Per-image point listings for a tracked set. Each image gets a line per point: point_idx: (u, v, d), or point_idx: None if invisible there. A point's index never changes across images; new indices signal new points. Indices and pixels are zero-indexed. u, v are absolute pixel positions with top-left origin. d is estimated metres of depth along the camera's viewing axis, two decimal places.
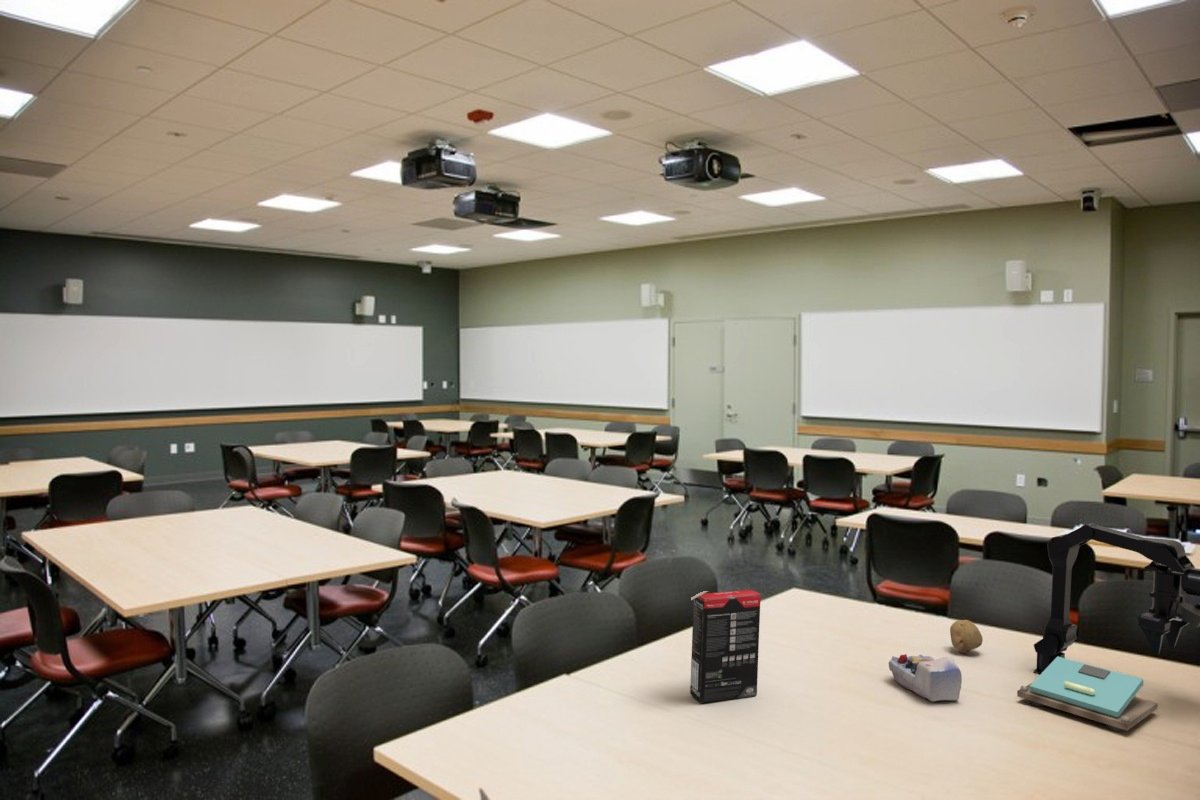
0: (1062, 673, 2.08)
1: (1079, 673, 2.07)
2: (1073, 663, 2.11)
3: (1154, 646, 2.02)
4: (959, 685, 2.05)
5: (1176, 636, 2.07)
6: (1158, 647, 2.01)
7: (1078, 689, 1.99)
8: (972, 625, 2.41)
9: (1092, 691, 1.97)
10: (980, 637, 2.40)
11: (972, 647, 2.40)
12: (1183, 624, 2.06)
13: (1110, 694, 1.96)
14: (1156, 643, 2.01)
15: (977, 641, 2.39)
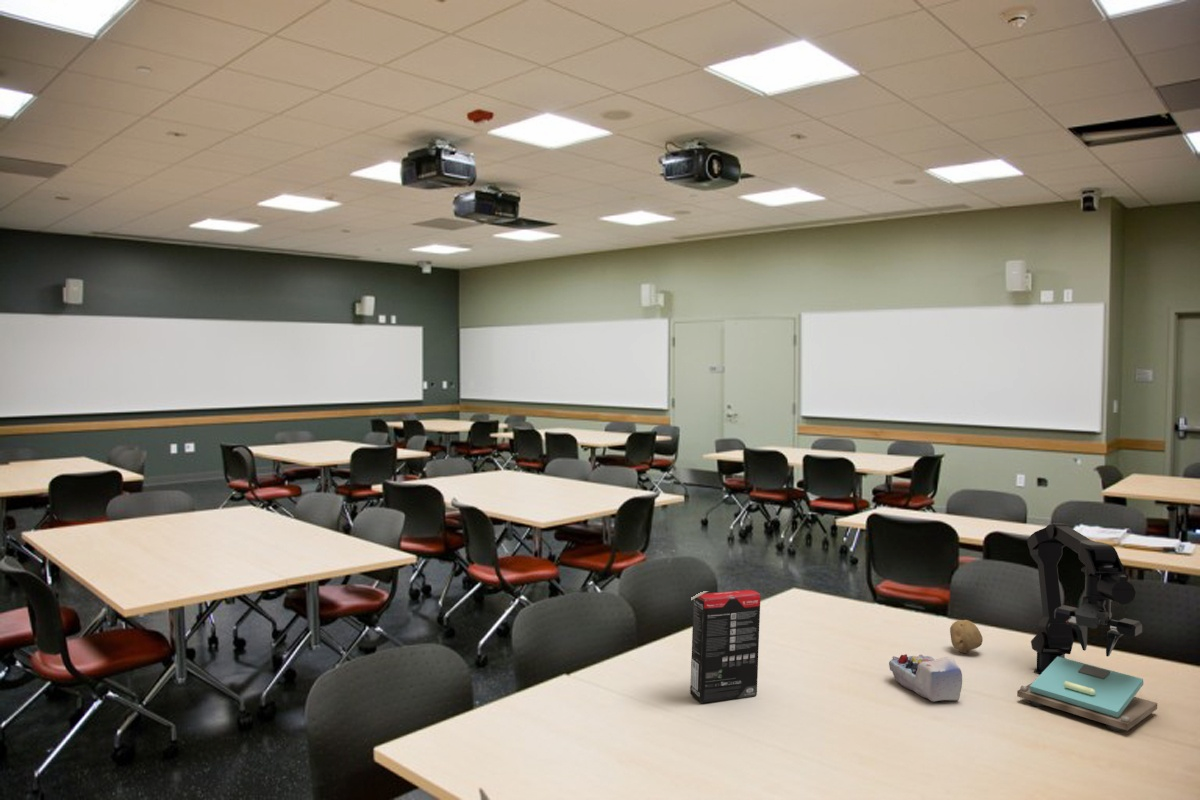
0: (1062, 673, 2.08)
1: (1079, 673, 2.07)
2: (1073, 663, 2.11)
3: None
4: (960, 685, 2.05)
5: (1107, 645, 2.03)
6: None
7: (1078, 689, 1.99)
8: (972, 625, 2.41)
9: (1092, 691, 1.97)
10: (980, 637, 2.40)
11: (972, 647, 2.40)
12: None
13: (1110, 694, 1.96)
14: None
15: (977, 641, 2.39)
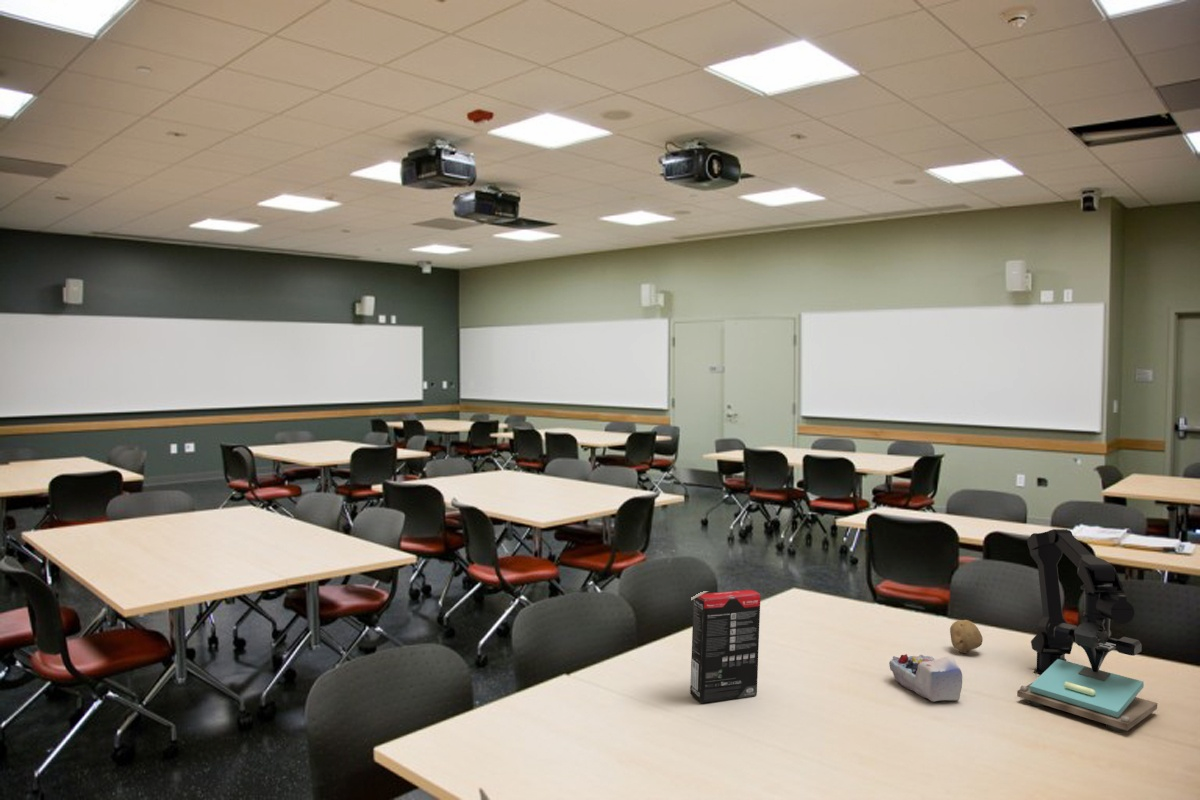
0: (1062, 674, 2.08)
1: (1079, 675, 2.07)
2: (1073, 665, 2.11)
3: None
4: (960, 685, 2.05)
5: (1095, 661, 2.06)
6: None
7: (1078, 689, 1.99)
8: (972, 625, 2.41)
9: (1092, 691, 1.97)
10: (980, 637, 2.40)
11: (972, 647, 2.40)
12: None
13: (1110, 695, 1.96)
14: None
15: (977, 641, 2.39)
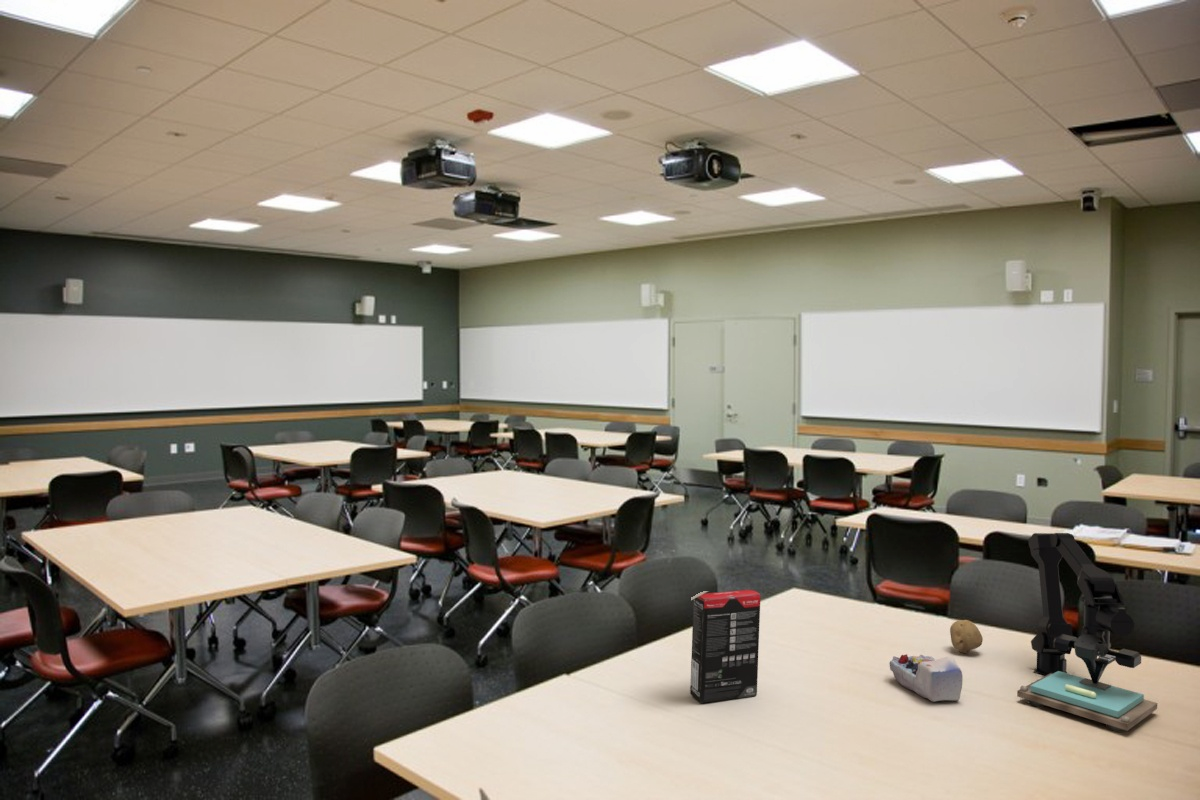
0: (1063, 681, 2.08)
1: (1080, 683, 2.07)
2: (1074, 677, 2.12)
3: None
4: (960, 685, 2.05)
5: (1095, 672, 2.06)
6: None
7: (1079, 691, 1.99)
8: (972, 625, 2.41)
9: (1093, 693, 1.97)
10: (980, 637, 2.40)
11: (972, 647, 2.40)
12: None
13: (1111, 700, 1.97)
14: None
15: (977, 641, 2.39)
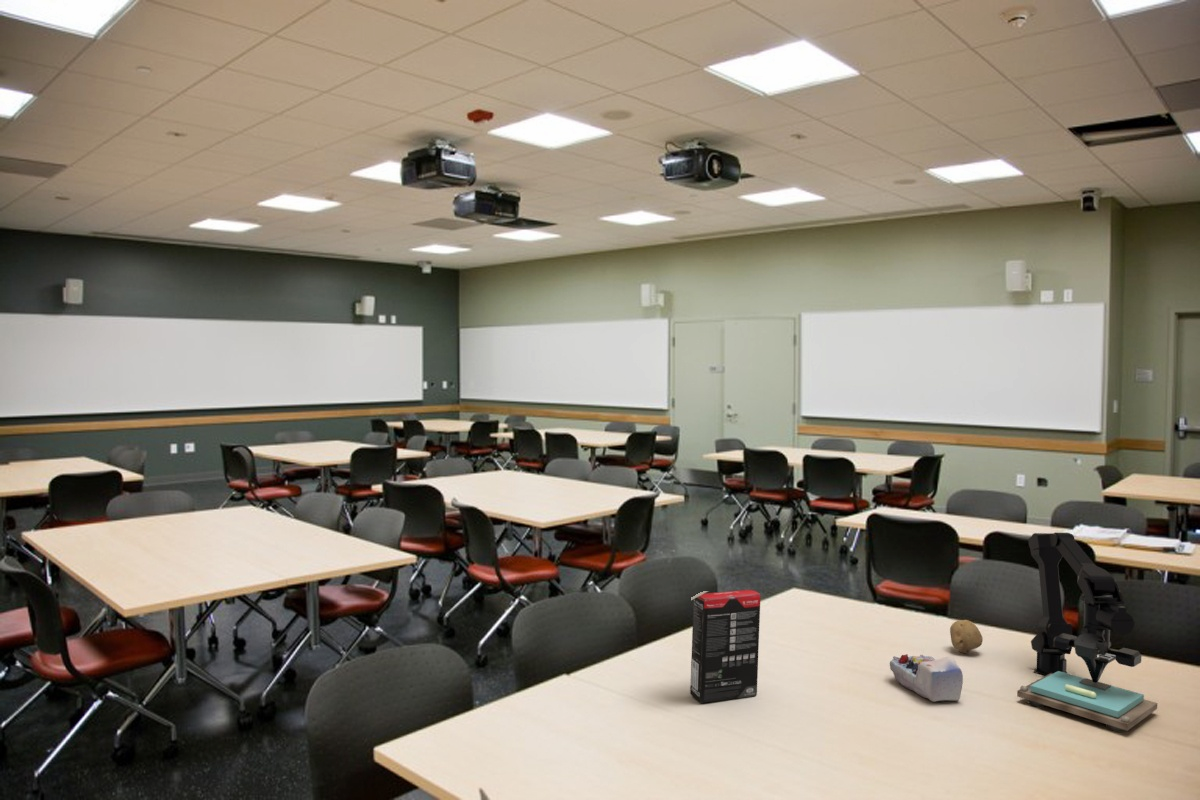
0: (1063, 681, 2.08)
1: (1080, 683, 2.07)
2: (1074, 677, 2.12)
3: None
4: (960, 685, 2.05)
5: (1095, 671, 2.06)
6: None
7: (1079, 691, 1.99)
8: (972, 625, 2.41)
9: (1093, 693, 1.97)
10: (980, 637, 2.40)
11: (972, 647, 2.40)
12: None
13: (1111, 700, 1.97)
14: None
15: (977, 641, 2.39)
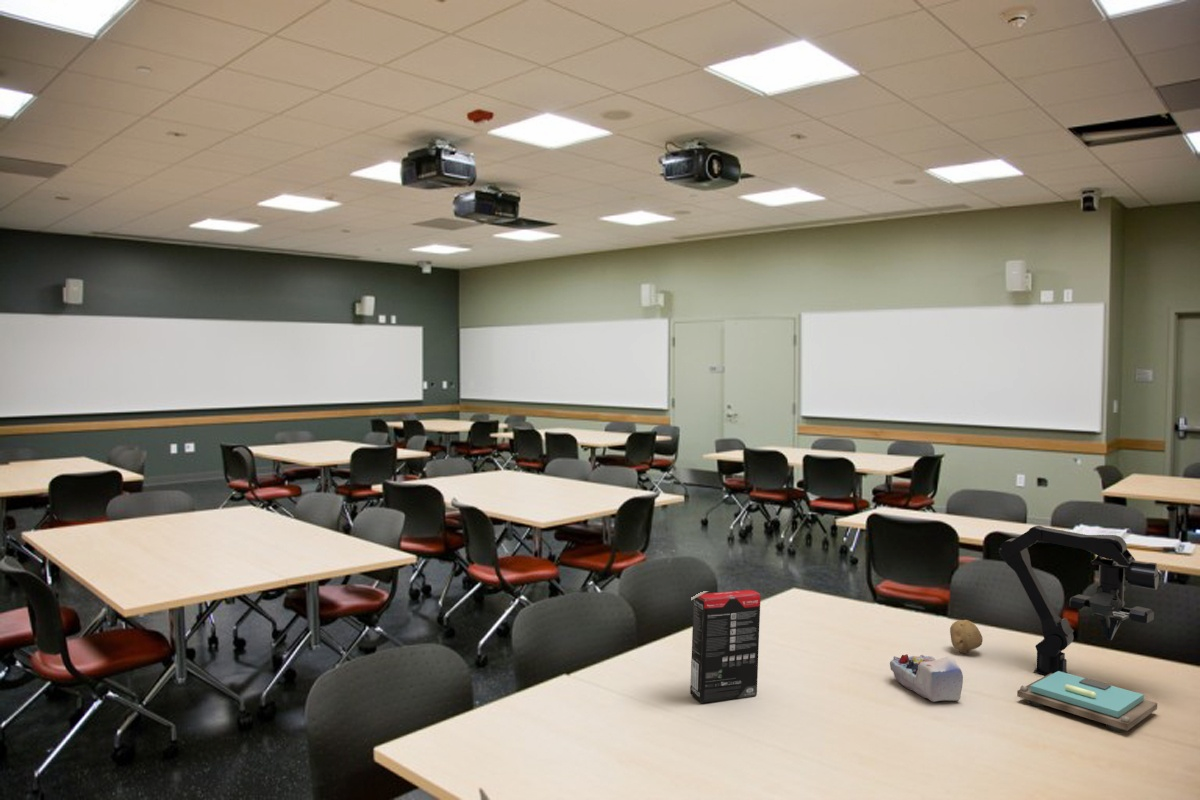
0: (1063, 681, 2.08)
1: (1080, 683, 2.07)
2: (1074, 677, 2.12)
3: None
4: (960, 685, 2.05)
5: (1109, 629, 2.16)
6: None
7: (1079, 691, 1.99)
8: (972, 625, 2.41)
9: (1093, 693, 1.97)
10: (980, 637, 2.40)
11: (972, 647, 2.40)
12: None
13: (1111, 700, 1.97)
14: None
15: (977, 641, 2.39)
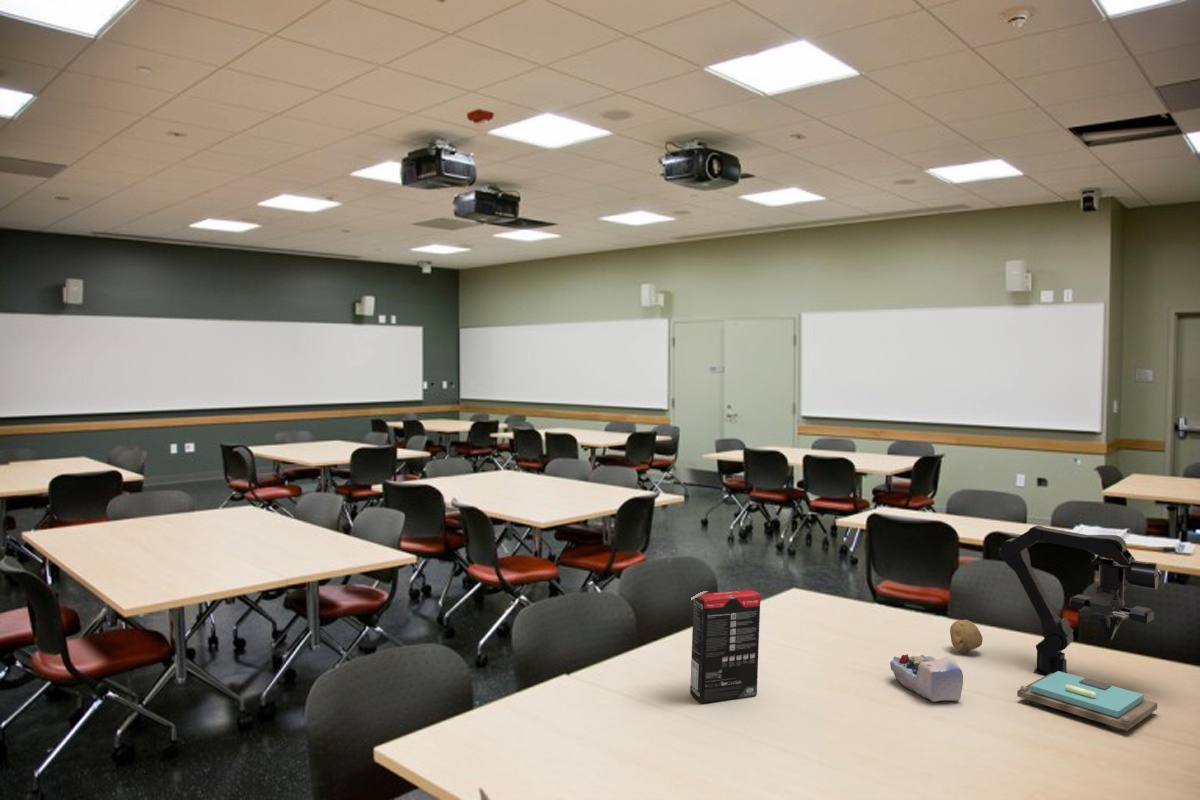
0: (1063, 681, 2.08)
1: (1080, 683, 2.07)
2: (1074, 677, 2.12)
3: None
4: (960, 685, 2.05)
5: (1109, 629, 2.16)
6: None
7: (1079, 691, 1.99)
8: (972, 625, 2.41)
9: (1093, 693, 1.97)
10: (980, 637, 2.40)
11: (972, 647, 2.40)
12: None
13: (1111, 700, 1.97)
14: None
15: (977, 641, 2.39)
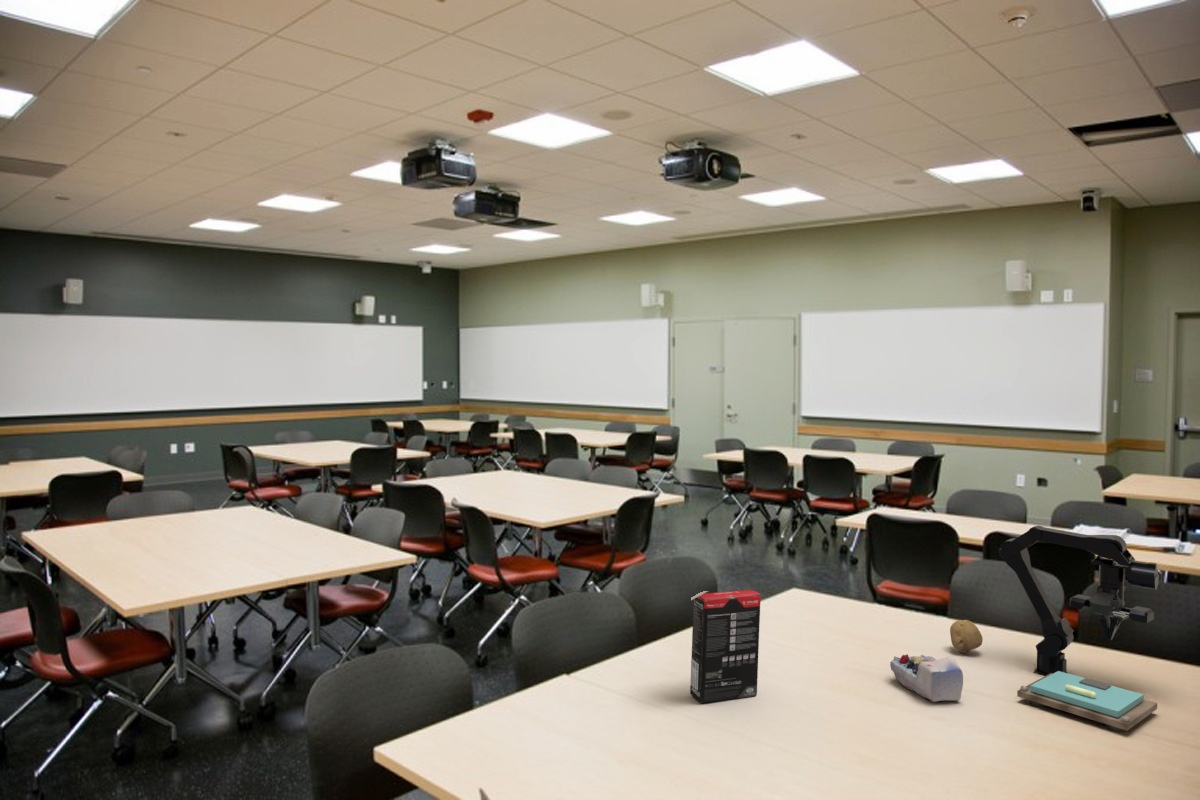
0: (1063, 681, 2.08)
1: (1080, 683, 2.07)
2: (1074, 677, 2.12)
3: None
4: (960, 685, 2.05)
5: (1109, 629, 2.16)
6: None
7: (1079, 691, 1.99)
8: (972, 625, 2.41)
9: (1093, 693, 1.97)
10: (980, 637, 2.40)
11: (972, 647, 2.40)
12: None
13: (1111, 700, 1.97)
14: None
15: (977, 641, 2.39)
